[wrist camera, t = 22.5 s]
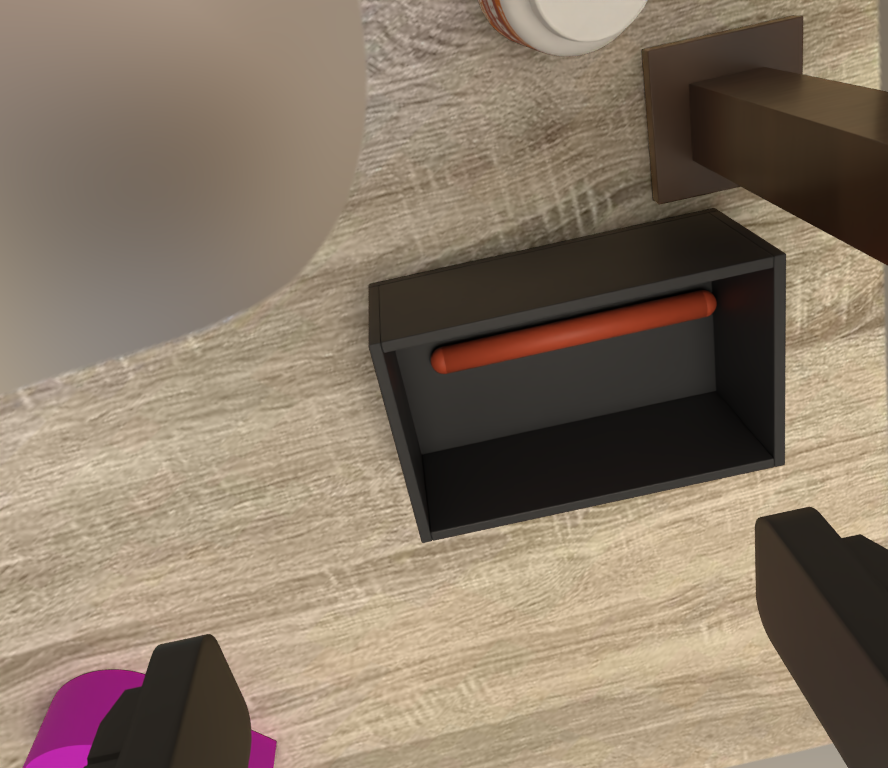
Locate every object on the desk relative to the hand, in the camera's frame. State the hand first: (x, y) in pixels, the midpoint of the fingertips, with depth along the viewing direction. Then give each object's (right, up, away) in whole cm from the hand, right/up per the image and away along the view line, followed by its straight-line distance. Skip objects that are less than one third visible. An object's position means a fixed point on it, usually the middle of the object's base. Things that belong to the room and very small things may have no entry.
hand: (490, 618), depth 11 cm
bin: (+6, +6, +36) cm, 37 cm away
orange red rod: (+7, +6, +35) cm, 36 cm away
